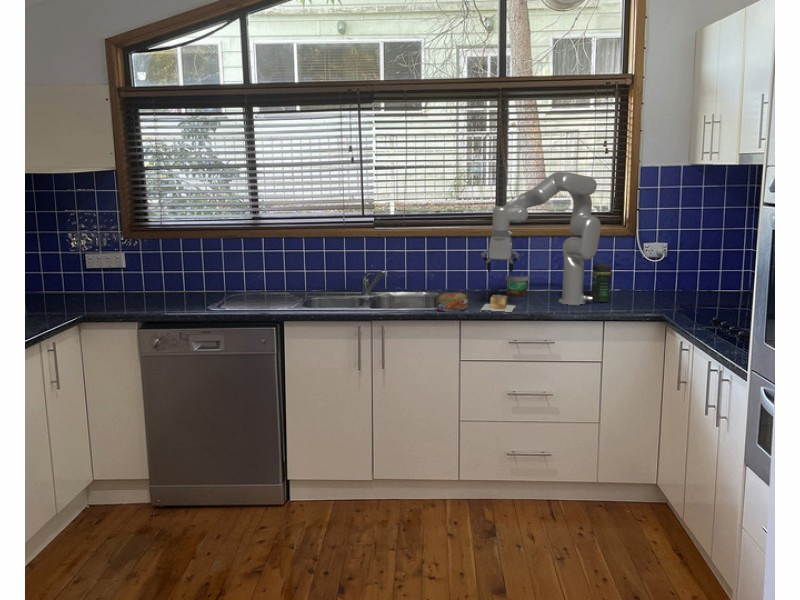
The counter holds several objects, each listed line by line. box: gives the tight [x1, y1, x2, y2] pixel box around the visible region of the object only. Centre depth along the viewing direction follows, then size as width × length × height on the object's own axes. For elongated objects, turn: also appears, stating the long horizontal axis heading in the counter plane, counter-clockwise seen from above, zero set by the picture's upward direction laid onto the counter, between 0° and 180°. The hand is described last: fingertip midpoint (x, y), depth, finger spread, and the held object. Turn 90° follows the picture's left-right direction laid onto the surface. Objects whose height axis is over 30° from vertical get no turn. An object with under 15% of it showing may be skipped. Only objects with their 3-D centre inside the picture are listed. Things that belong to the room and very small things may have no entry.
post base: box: [480, 294, 516, 313], centre depth 316 cm, size 14×14×7 cm
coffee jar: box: [590, 262, 612, 303], centre depth 335 cm, size 10×8×19 cm
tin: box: [435, 291, 470, 311], centre depth 314 cm, size 15×3×8 cm, turn 105°
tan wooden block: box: [489, 294, 508, 309], centre depth 316 cm, size 6×6×5 cm
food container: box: [504, 274, 531, 297], centre depth 350 cm, size 12×6×10 cm, turn 73°
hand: (499, 271), depth 314 cm, fingers open, 9 cm apart
